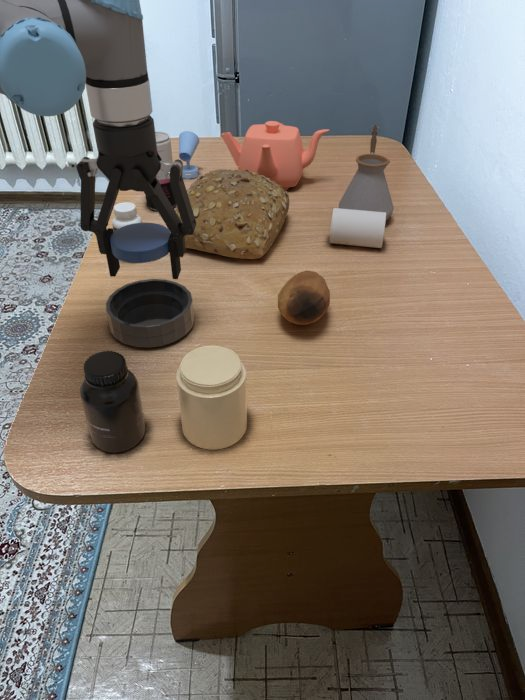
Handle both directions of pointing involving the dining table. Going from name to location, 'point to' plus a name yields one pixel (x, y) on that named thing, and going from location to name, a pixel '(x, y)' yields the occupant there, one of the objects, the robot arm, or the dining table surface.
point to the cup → (357, 227)
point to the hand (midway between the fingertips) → (146, 273)
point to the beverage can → (165, 154)
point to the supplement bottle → (112, 402)
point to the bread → (236, 213)
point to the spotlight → (188, 152)
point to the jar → (212, 397)
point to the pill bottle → (125, 215)
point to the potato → (304, 298)
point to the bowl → (150, 312)
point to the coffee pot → (369, 183)
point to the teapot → (273, 152)
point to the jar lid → (140, 242)
